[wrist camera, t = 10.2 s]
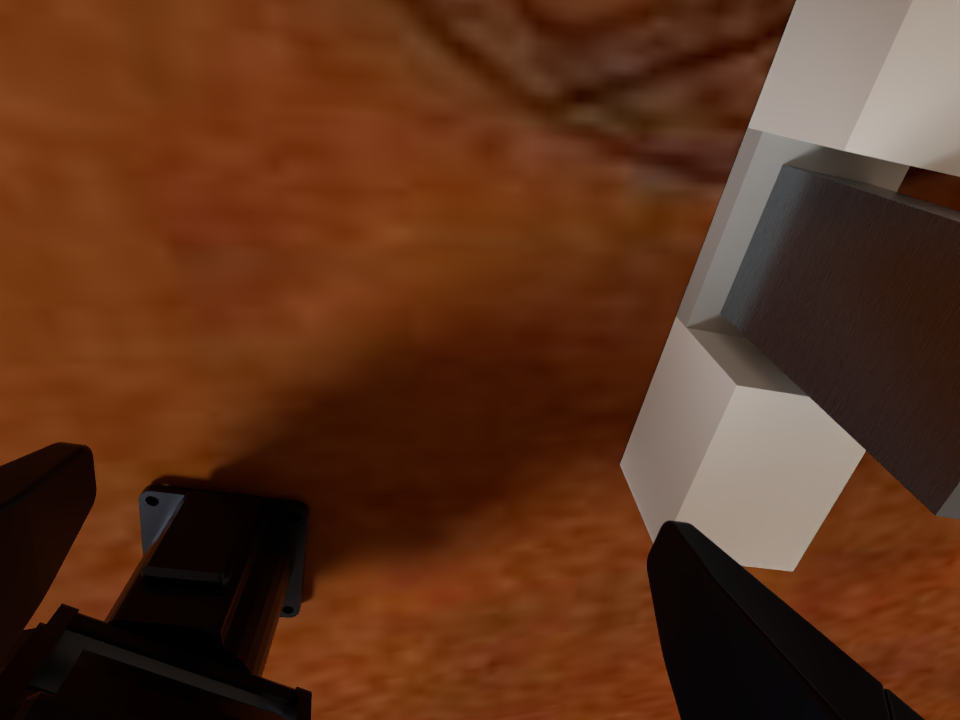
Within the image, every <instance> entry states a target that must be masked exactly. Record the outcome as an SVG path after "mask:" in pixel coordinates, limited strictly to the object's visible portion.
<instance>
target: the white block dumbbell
mask: <svg viewBox="0 0 960 720" xmlns="http://www.w3.org/2000/svg"><path fill="white" fill-rule="evenodd" d="M782 165H787V166H792V167H796V168H801V169H806V170H810V171H815V172H819V173H824V174H828V175H833V176H837V177H842V178H846V179H851V180H855V181H860V182H864V183H869V184H872V185H876V186H879V187H882V188H885V189H889V190H892V191H895V192H897V190H898V188H899V186H900V185H901V183H902V181H903V179H904V177H905V175H906V173H907V171H908V169H909V167H910V166H914V167H918V168H922V169H927V170H931V171H936V172H940V173H945V174H949V175H954V176H958V177H960V0H796V2H795V5H794V7H793V10H792V13H791V15H790V18H789V20H788V23H787V26H786V28H785V31H784V34H783V36H782V39H781V42H780V44H779V47H778V49H777V52H776V55H775V57H774V60H773V63H772V65H771V68H770V70H769V73H768V76H767V78H766V81H765V84H764V86H763V89H762V92H761V94H760V97H759V99H758V102H757V105H756V107H755V110H754V113H753V115H752V118H751V120H750V123H749V126H748V128H747V131H746V134H745V136H744V139H743V142H742V144H741V147H740V149H739V152H738V155H737V157H736V160H735V163H734V165H733V168H732V170H731V173H730V176H729V178H728V181H727V184H726V186H725V189H724V192H723V194H722V197H721V199H720V202H719V205H718V207H717V210H716V213H715V215H714V218H713V221H712V223H711V226H710V228H709V231H708V234H707V236H706V239H705V242H704V244H703V247H702V249H701V252H700V255H699V257H698V260H697V263H696V265H695V268H694V271H693V273H692V276H691V278H690V281H689V284H688V286H687V289H686V292H685V294H684V297H683V299H682V302H681V305H680V307H679V310H678V313H677V315H676V318H675V321H674V323H673V326H672V328H671V331H670V334H669V336H668V339H667V342H666V344H665V347H664V349H663V352H662V355H661V357H660V360H659V363H658V365H657V368H656V371H655V373H654V376H653V378H652V381H651V384H650V386H649V389H648V392H647V394H646V397H645V399H644V402H643V405H642V407H641V410H640V413H639V415H638V418H637V421H636V423H635V426H634V428H633V431H632V434H631V436H630V439H629V442H628V444H627V447H626V449H625V452H624V455H623V457H622V460H621V463H620V466H621V469H622V471H623V474H624V476H625V478H626V481H627V483H628V485H629V488H630V490H631V492H632V495H633V497H634V499H635V502H636V504H637V506H638V509H639V511H640V514H641V516H642V518H643V521H644V523H645V525H646V528H647V530H648V532H649V535H650V537H651V539H652V542H653V543H654V541H655V539H656V537H657V534H658V532H659V530H660V528H661V526H662V524H663V523H664V522H666V521H668V520H673V521H680V522H687V523H690V524H692V525H693V526H694V527H696V528H697V529H698V530H699V531H700V532H702V533H703V534H704V535H705V536H706V537H707V538H709V539H710V540H711V541H712V542H713V543H715V544H716V545H717V546H718V547H719V548H721V549H722V550H723V551H724V552H725V553H727V554H728V555H729V556H730V557H731V558H733V559H734V560H735V561H736V562H737V563H738V564H740V565H741V566H749V567H757V568H766V569H775V570H784V571H794V569H795V567H796V566H797V564H798V562H799V561H800V559H801V558H802V556H803V554H804V553H805V551H806V549H807V548H808V546H809V544H810V543H811V541H812V539H813V538H814V536H815V534H816V533H817V531H818V529H819V528H820V526H821V525H822V523H823V521H824V520H825V518H826V516H827V515H828V513H829V511H830V510H831V508H832V506H833V505H834V503H835V501H836V500H837V498H838V496H839V495H840V493H841V492H842V490H843V488H844V487H845V485H846V483H847V482H848V480H849V478H850V477H851V475H852V473H853V472H854V470H855V468H856V467H857V465H858V463H859V462H860V460H861V459H862V457H863V455H864V454H865V452H866V450H865V449H864V448H863V447H862V446H861V445H860V444H859V443H858V442H857V441H856V440H854V439H853V438H852V437H851V436H850V435H849V434H848V433H847V432H846V431H845V430H844V429H843V428H842V427H841V426H840V425H839V424H837V423H836V422H835V421H834V420H833V419H832V418H831V417H830V416H829V415H828V414H827V413H826V412H825V411H824V410H823V409H822V408H820V407H819V406H818V405H817V404H816V403H815V402H814V401H813V400H812V399H811V398H810V397H809V396H808V395H807V394H806V393H805V392H803V391H802V390H801V389H800V388H799V387H798V386H797V385H796V384H795V383H794V382H793V381H792V380H791V379H790V378H789V377H788V376H786V375H785V374H784V373H783V372H782V371H781V370H780V369H779V368H778V367H777V366H776V365H775V364H774V363H773V362H772V361H771V360H769V359H768V358H767V357H766V356H765V355H764V354H763V353H762V352H761V351H760V350H759V349H758V348H757V347H756V346H755V345H754V344H752V343H751V342H750V341H749V340H748V339H747V338H746V337H745V336H744V335H743V334H742V333H741V332H740V331H739V330H738V329H737V328H735V327H734V326H733V325H732V324H731V323H730V322H729V321H728V320H727V319H726V318H725V317H724V316H723V315H722V314H721V313H720V312H721V310H722V308H723V305H724V303H725V300H726V298H727V296H728V293H729V291H730V289H731V286H732V284H733V281H734V279H735V277H736V274H737V272H738V269H739V267H740V265H741V262H742V260H743V258H744V255H745V253H746V250H747V248H748V246H749V243H750V241H751V239H752V236H753V234H754V231H755V229H756V227H757V224H758V222H759V220H760V217H761V215H762V212H763V210H764V208H765V205H766V203H767V200H768V198H769V196H770V193H771V191H772V189H773V186H774V184H775V181H776V179H777V177H778V174H779V172H780V170H781V167H782Z"/></svg>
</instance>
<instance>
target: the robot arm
mask: <svg viewBox="0 0 960 720" xmlns="http://www.w3.org/2000/svg"><path fill="white" fill-rule="evenodd" d="M151 496H153V497H156V498H157V499H154V498H152V497H151ZM95 497H96V480H95V470H94V461H93V454H92V451H91V449H90V448H89V447H88V446H86V445H81V444H73V443H65V442H58V443H55V444H52V445H49V446H47V447H45V448H42V449H40V450H38V451H35V452H33V453H30V454H28V455H26V456H23V457H21V458H19V459H16V460H14V461H11V462H9V463H7V464H4V465H2V466H0V720H311V697H312V693H311V691H308V690H305V689H302V688H299V687H296V688H295V689H293V688H291V687H288V686H285V685H282V684H279V683H276V682H274V681H271V680H268V679H265V678H262V674H263V671H264V667H265V664H266V661H267V657H268V654H269V651H270V647H271V644H272V640H273V637H274V634H275V630H276V627H277V623H278V620H279V617H287V618H288V617H294V616H296V615H297V614H298V613H299V611H300V607H301V602H302V591H303V580H304V568H305V557H306V546H307V535H308V524H309V508H308V506H307V505H306V504H304V503H303V502H299V501H293V500H284V499H276V498H267V497H258V496H250V495H241V494H232V493H224V492H215V491H207V490H198V489H189V488H181V487H172V486H163V485H149V486H147V487H146V488H145V489H144V490H143V492H142V493H141V495H140V496H139V509H140V522H141V534H142V547H143V558H142V559H141V561H140V563H139V564H138V566H137V568H136V569H135V571H134V573H133V574H132V576H131V578H130V579H129V581H128V583H127V584H126V586H125V588H124V589H123V591H122V593H121V594H120V596H119V598H118V599H117V601H116V602H115V604H114V606H113V607H112V609H111V611H110V612H109V614H108V616H107V617H106V619H105V621H104V622H103V621H101V620H98V619H95V618H92V617H89V616H86V615H84V614H81V613H78V611H79V609H76V608H73V607H71V606H68V605H65V604H61V606H60V607H59V608H58V610H57V611H56V612H55V614H54V615H53V616H52V618H51V619H50V620H49V622H48V623H47V624H44V623H41V622H40V623H39V625H38V626H37V627H36V628H34V629H28V630H23V629H24V628H25V626H26V625H27V623H28V622H29V620H30V619H31V617H32V616H33V614H34V613H35V611H36V610H37V608H38V606H39V605H40V603H41V602H42V600H43V598H44V597H45V595H46V593H47V591H48V590H49V588H50V586H51V584H52V582H53V580H54V578H55V577H56V575H57V573H58V571H59V569H60V567H61V565H62V563H63V561H64V559H65V557H66V556H67V554H68V552H69V550H70V548H71V546H72V544H73V542H74V540H75V538H76V536H77V535H78V533H79V531H80V529H81V527H82V525H83V523H84V521H85V519H86V517H87V515H88V514H89V512H90V510H91V508H92V506H93V503H94V501H95ZM293 512H296V513H299V514H300V515H295V514H293ZM647 572H648V578H649V583H650V589H651V594H652V600H653V605H654V611H655V616H656V622H657V627H658V633H659V639H660V644H661V649H662V653H663V658H664V662H665V665H666V669H667V673H668V676H669V680H670V683H671V687H672V690H673V694H674V697H675V700H676V704H677V707H678V711H679V714H680V718H681V720H925V719H923V718H922V717H921V716H920V715H919V714H917V713H916V712H915V711H914V710H912V709H911V708H910V707H909V706H908V705H907V704H905V703H904V702H903V701H902V700H901V699H899V698H898V697H897V696H896V695H895V694H894V693H892V692H891V691H890V690H889V689H884V688H883V685H882V684H881V683H880V682H879V681H878V680H877V679H876V678H874V677H873V676H872V675H871V674H870V673H868V672H867V671H866V670H865V669H864V668H862V667H861V666H860V665H859V664H858V663H856V662H855V661H854V660H853V659H852V658H851V657H849V656H848V655H847V654H846V653H845V652H843V651H842V650H841V649H840V648H839V647H837V646H836V645H835V644H834V643H833V642H831V641H830V640H829V639H828V638H827V637H825V636H824V635H823V634H822V633H821V632H820V631H818V630H817V629H816V628H815V627H814V626H812V625H811V624H810V623H809V622H808V621H806V620H805V619H804V618H803V617H802V616H800V615H799V614H798V613H797V612H796V611H794V610H793V609H792V608H791V607H790V606H789V605H787V604H786V603H785V602H784V601H783V600H781V599H780V598H779V597H778V596H777V595H775V594H774V593H773V592H772V591H771V590H769V589H768V588H767V587H766V586H765V585H764V584H762V583H761V582H760V581H759V580H758V579H756V578H755V577H754V576H753V575H752V574H750V573H749V572H748V571H747V570H746V569H744V568H743V567H742V566H741V565H740V564H738V563H737V562H736V561H735V560H734V559H733V558H731V557H730V556H729V555H728V554H727V553H725V552H724V551H723V550H722V549H721V548H719V547H718V546H717V545H716V544H715V543H713V542H712V541H711V540H710V539H709V538H707V537H706V536H705V535H704V534H703V533H702V532H700V531H699V530H698V529H697V528H696V527H694V526H693V525H692V524H690V523H687V522H680V521H673V520H668V521H666V522H664V523H663V524H662V526H661V528H660V530H659V532H658V534H657V537H656V539H655V541H654V543H653V545H652V548H651V550H650V552H649V555H648V558H647Z"/></svg>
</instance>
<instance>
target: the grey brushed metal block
mask: <svg viewBox="0 0 960 720" xmlns="http://www.w3.org/2000/svg"><path fill="white" fill-rule="evenodd" d="M720 313H721V314H722V315H723V316H724V317H725V318H726V319H727V320H728V321H729V322H730V323H731V324H732V325H733V326H734V327H735V328H737V329H738V330H739V331H740V332H741V333H742V334H743V335H744V336H745V337H746V338H747V339H748V340H749V341H750V342H751V343H752V344H754V345H755V346H756V347H757V348H758V349H759V350H760V351H761V352H762V353H763V354H764V355H765V356H766V357H767V358H768V359H769V360H771V361H772V362H773V363H774V364H775V365H776V366H777V367H778V368H779V369H780V370H781V371H782V372H783V373H784V374H785V375H786V376H788V377H789V378H790V379H791V380H792V381H793V382H794V383H795V384H796V385H797V386H798V387H799V388H800V389H801V390H802V391H803V392H805V393H806V394H807V395H808V396H809V397H810V398H811V399H812V400H813V401H814V402H815V403H816V404H817V405H818V406H819V407H820V408H822V409H823V410H824V411H825V412H826V413H827V414H828V415H829V416H830V417H831V418H832V419H833V420H834V421H835V422H836V423H837V424H839V425H840V426H841V427H842V428H843V429H844V430H845V431H846V432H847V433H848V434H849V435H850V436H851V437H852V438H853V439H854V440H856V441H857V442H858V443H859V444H860V445H861V446H862V447H863V448H864V449H865V450H866V451H867V452H868V453H869V454H870V455H871V456H873V457H874V458H875V459H876V460H877V461H878V462H879V463H880V464H881V465H882V466H883V467H884V468H885V469H886V470H887V471H888V472H890V473H891V474H892V475H893V476H894V477H895V478H896V479H897V480H898V481H899V482H900V483H901V484H902V485H903V486H904V487H905V488H907V489H908V490H909V491H910V492H911V493H912V494H913V495H914V496H915V497H916V498H917V499H918V500H919V501H920V502H921V503H922V504H924V505H925V506H926V507H927V508H928V509H929V510H930V511H931V512H932V513H933V514H934V515H935V516H941V517H949V518H956V519H960V211H958V210H954V209H951V208H948V207H945V206H941V205H938V204H935V203H931V202H928V201H925V200H922V199H918V198H915V197H912V196H908V195H905V194H902V193H899V192H895V191H892V190H889V189H885V188H882V187H879V186H876V185H872V184H869V183H864V182H860V181H855V180H851V179H846V178H842V177H837V176H833V175H828V174H824V173H819V172H815V171H810V170H806V169H801V168H796V167H792V166H787V165H782V167H781V170H780V172H779V174H778V177H777V179H776V181H775V184H774V186H773V189H772V191H771V193H770V196H769V198H768V200H767V203H766V205H765V208H764V210H763V212H762V215H761V217H760V220H759V222H758V224H757V227H756V229H755V231H754V234H753V236H752V239H751V241H750V243H749V246H748V248H747V250H746V253H745V255H744V258H743V260H742V262H741V265H740V267H739V269H738V272H737V274H736V277H735V279H734V281H733V284H732V286H731V289H730V291H729V293H728V296H727V298H726V300H725V303H724V305H723V308H722V310H721V312H720Z"/></svg>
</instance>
